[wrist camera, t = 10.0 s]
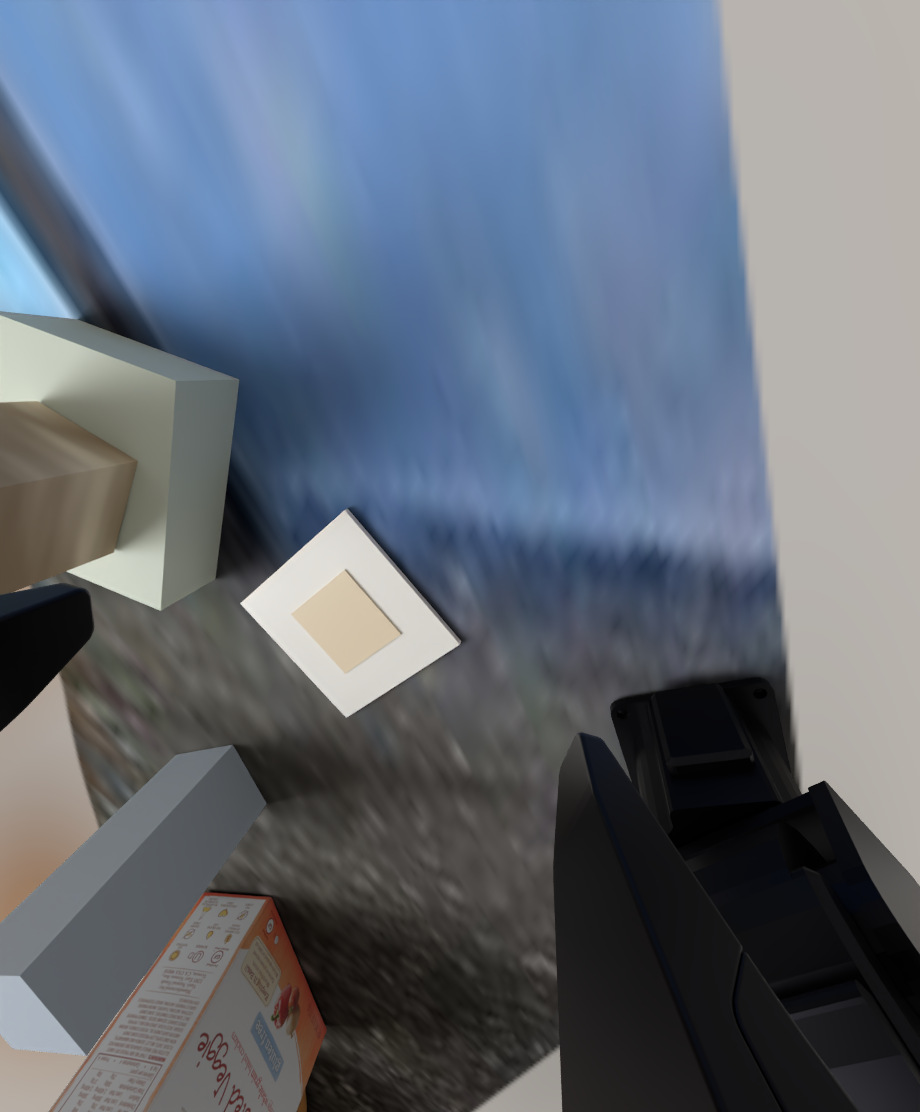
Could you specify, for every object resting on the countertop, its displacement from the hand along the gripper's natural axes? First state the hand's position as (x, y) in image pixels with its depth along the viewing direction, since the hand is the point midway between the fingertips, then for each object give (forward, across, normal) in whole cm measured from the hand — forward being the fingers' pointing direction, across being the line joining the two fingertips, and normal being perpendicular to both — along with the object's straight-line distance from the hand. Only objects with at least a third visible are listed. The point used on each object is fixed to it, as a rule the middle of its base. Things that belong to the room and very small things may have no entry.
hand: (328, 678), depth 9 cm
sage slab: (+14, +14, +3) cm, 20 cm away
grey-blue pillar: (+12, +9, +22) cm, 27 cm away
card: (+13, +3, +8) cm, 15 cm away
